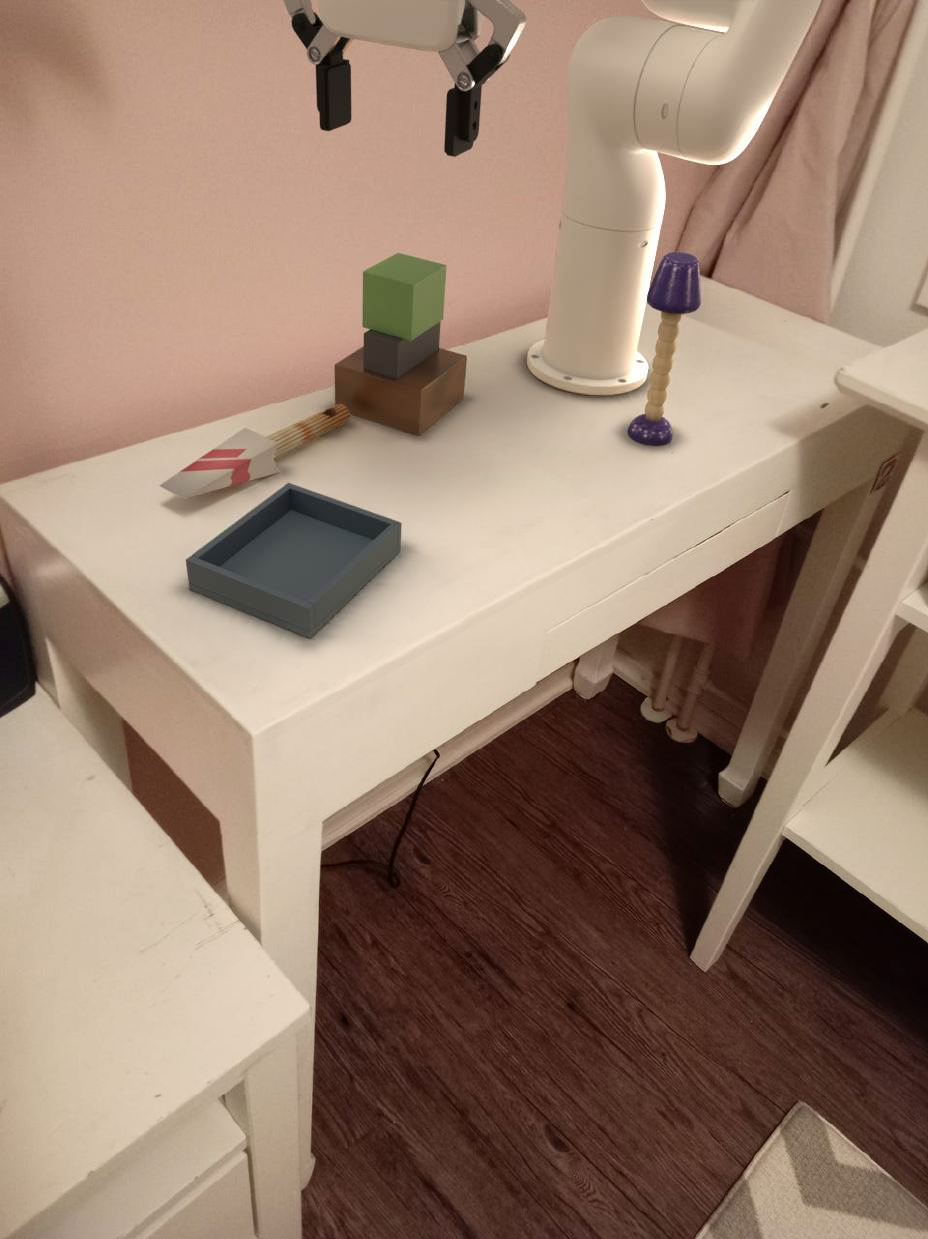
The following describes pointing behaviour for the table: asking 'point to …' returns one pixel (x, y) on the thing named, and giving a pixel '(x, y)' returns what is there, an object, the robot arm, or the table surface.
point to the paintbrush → (250, 455)
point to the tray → (295, 558)
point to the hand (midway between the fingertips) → (396, 139)
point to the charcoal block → (398, 352)
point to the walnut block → (402, 391)
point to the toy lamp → (666, 340)
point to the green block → (403, 296)
